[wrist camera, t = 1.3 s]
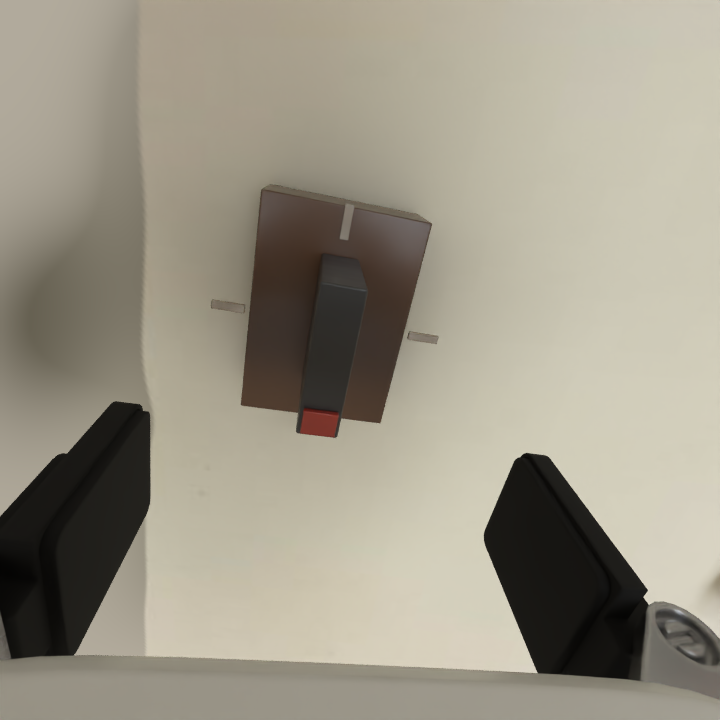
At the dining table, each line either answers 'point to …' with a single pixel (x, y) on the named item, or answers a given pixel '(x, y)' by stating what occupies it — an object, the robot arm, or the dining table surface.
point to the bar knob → (331, 345)
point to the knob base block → (298, 286)
